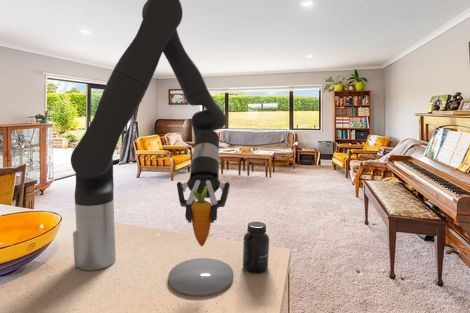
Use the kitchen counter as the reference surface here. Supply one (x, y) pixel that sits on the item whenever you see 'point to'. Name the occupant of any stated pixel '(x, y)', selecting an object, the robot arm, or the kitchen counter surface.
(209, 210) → the carrot
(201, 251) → the kitchen counter surface
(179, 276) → the slate plate
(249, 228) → the supplement bottle
